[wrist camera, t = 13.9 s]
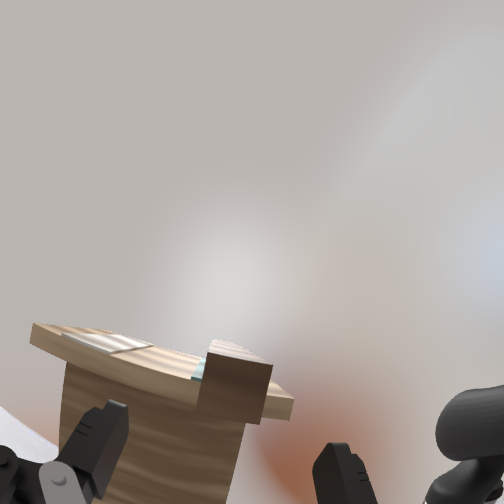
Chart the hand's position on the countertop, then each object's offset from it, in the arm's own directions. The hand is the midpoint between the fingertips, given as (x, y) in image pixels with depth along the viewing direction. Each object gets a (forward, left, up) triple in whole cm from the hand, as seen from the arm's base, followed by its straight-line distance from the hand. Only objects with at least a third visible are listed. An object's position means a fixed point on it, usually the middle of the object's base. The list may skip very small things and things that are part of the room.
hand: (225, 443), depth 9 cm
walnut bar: (-12, -10, 0) cm, 15 cm away
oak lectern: (-13, -19, -32) cm, 39 cm away
